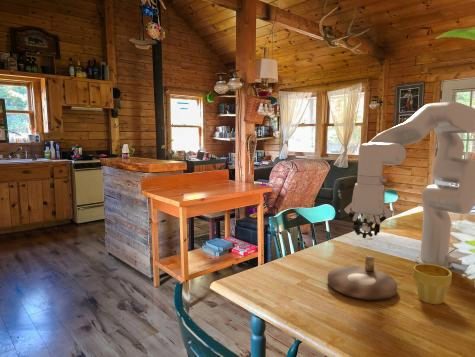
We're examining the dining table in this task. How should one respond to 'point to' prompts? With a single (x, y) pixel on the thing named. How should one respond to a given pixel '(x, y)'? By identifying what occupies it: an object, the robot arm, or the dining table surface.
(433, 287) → the plant pot
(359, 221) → the valve
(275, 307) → the dining table surface
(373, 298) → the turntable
